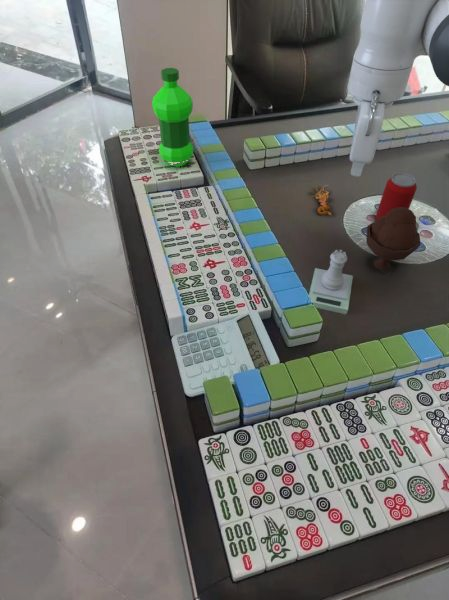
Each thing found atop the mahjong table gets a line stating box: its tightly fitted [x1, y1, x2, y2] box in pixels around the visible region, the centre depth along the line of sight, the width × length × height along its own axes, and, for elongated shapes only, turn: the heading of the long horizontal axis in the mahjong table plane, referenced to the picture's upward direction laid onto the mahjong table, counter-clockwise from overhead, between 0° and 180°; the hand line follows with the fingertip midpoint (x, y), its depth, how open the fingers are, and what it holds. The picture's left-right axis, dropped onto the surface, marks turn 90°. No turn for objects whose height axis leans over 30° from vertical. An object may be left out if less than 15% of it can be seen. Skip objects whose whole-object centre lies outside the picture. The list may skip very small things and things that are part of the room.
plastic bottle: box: [151, 67, 195, 168], centre depth 116 cm, size 10×10×25 cm
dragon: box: [311, 184, 332, 216], centre depth 111 cm, size 4×11×4 cm, turn 178°
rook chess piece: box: [321, 249, 348, 290], centre depth 85 cm, size 4×4×8 cm
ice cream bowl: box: [366, 207, 421, 271], centre depth 90 cm, size 11×11×15 cm
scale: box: [308, 267, 354, 315], centre depth 89 cm, size 8×10×3 cm
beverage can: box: [375, 172, 418, 220], centre depth 103 cm, size 7×7×12 cm
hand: (357, 160), depth 78 cm, fingers open, 8 cm apart
